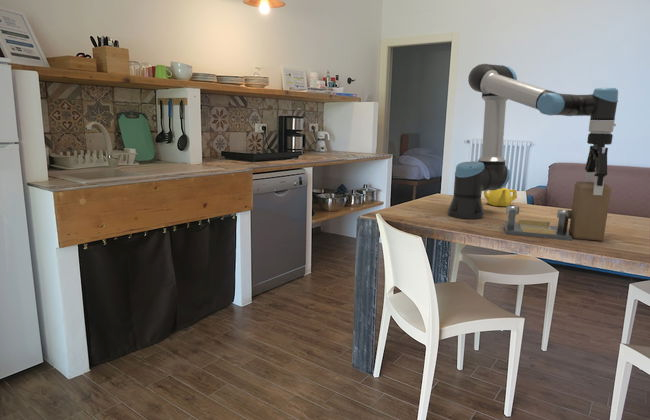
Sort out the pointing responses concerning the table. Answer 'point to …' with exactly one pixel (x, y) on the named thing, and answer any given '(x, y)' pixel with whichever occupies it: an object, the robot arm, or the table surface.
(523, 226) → the grey metal fixture stand
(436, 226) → the table surface
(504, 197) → the yellow rounded piece
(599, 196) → the wooden block
